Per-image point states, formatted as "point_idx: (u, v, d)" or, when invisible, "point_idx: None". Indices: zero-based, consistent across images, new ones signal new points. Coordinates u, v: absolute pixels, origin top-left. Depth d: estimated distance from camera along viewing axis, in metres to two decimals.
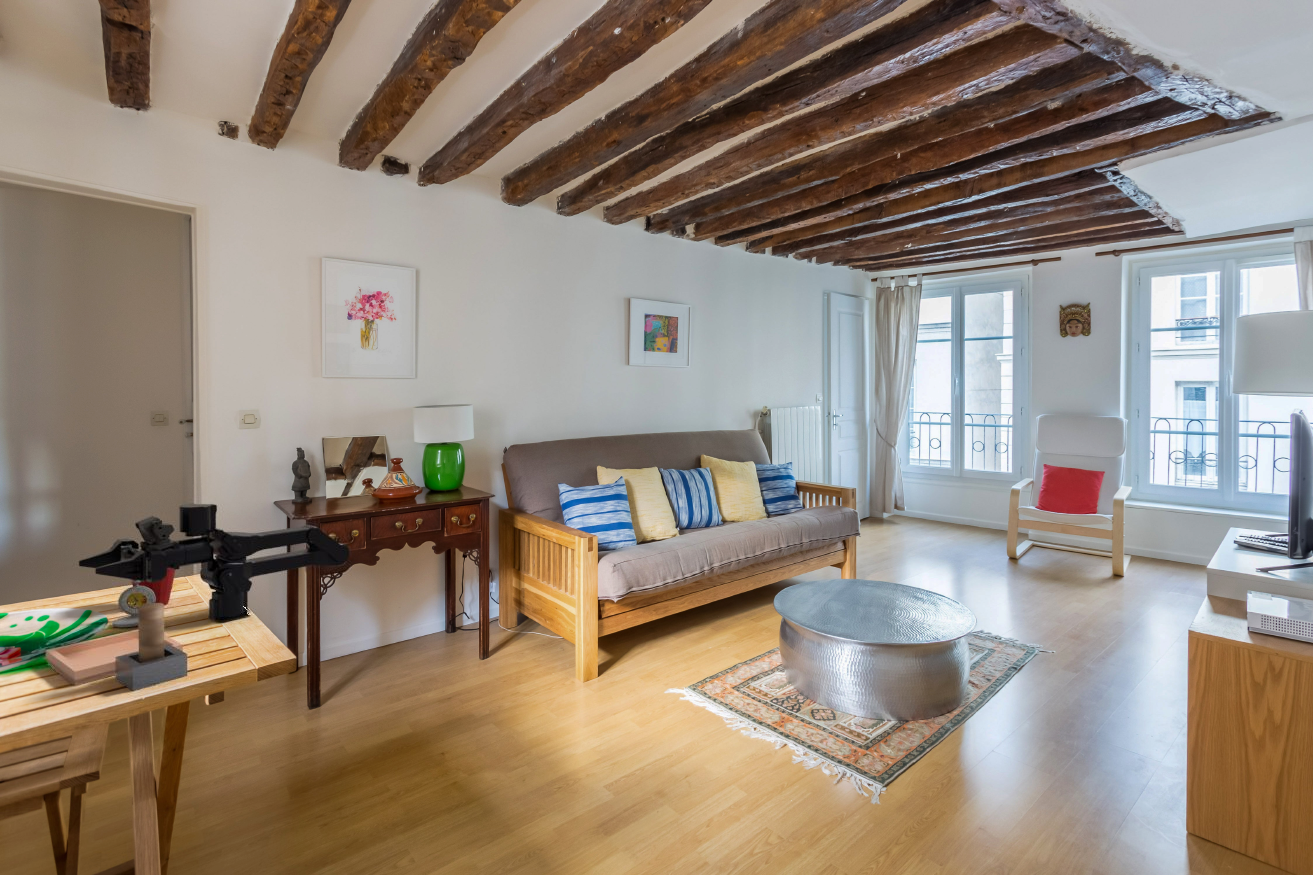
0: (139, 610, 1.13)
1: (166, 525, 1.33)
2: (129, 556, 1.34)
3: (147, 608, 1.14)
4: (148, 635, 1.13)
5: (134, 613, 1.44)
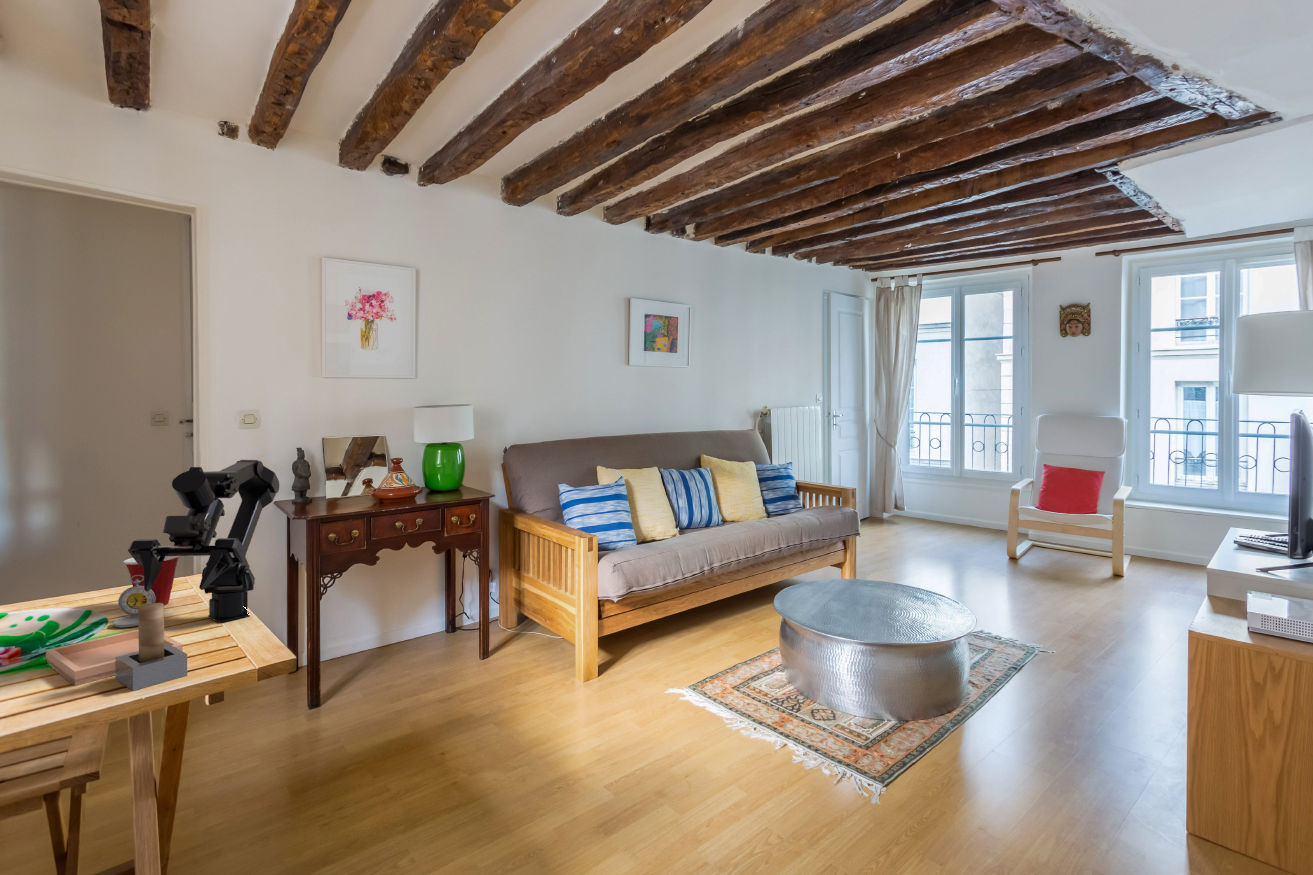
0: (139, 610, 1.13)
1: (206, 517, 1.26)
2: (168, 554, 1.27)
3: (147, 608, 1.14)
4: (148, 635, 1.13)
5: (134, 613, 1.44)
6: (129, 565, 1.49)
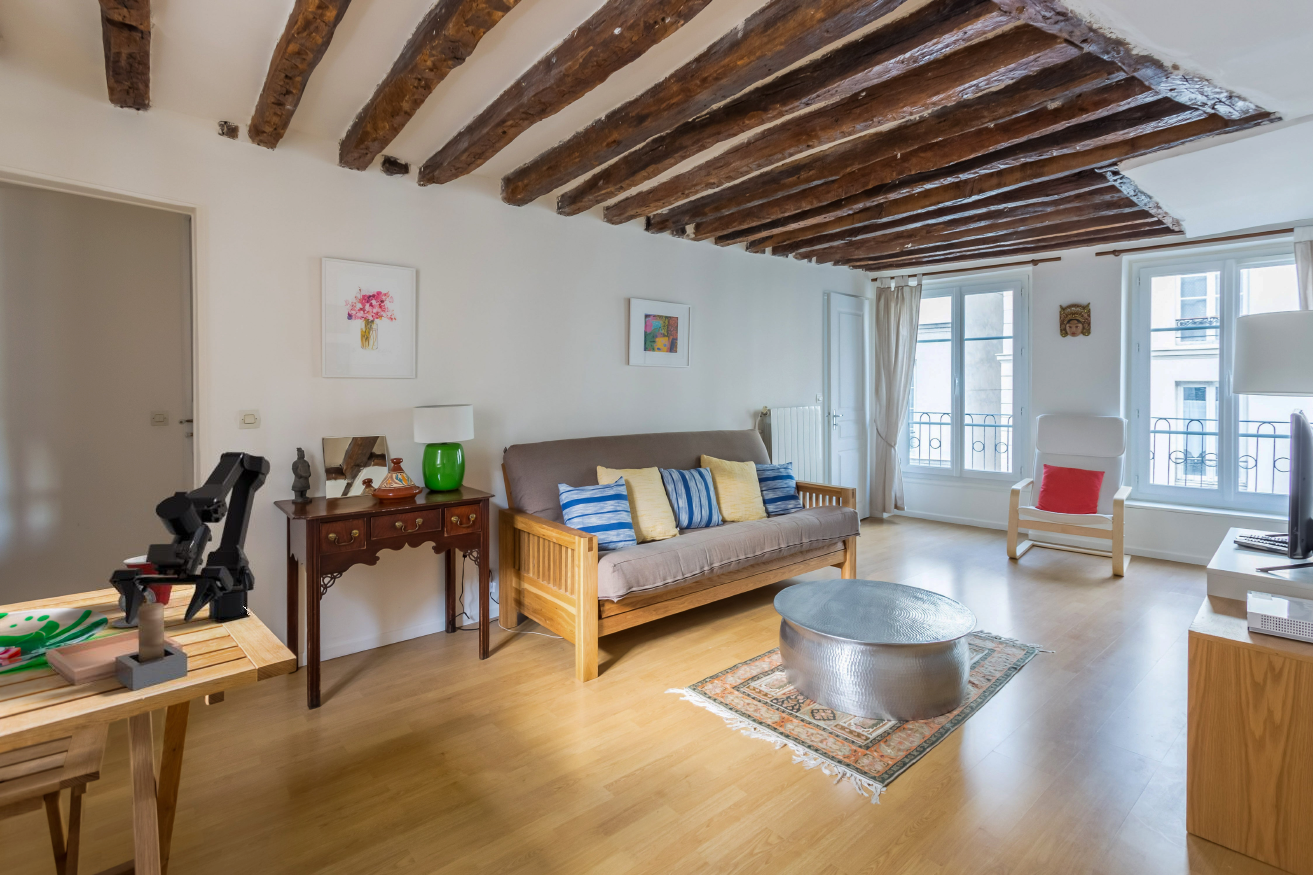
0: (139, 610, 1.13)
1: (191, 545, 1.20)
2: (151, 583, 1.21)
3: (147, 608, 1.14)
4: (148, 635, 1.13)
5: None
6: (129, 565, 1.49)
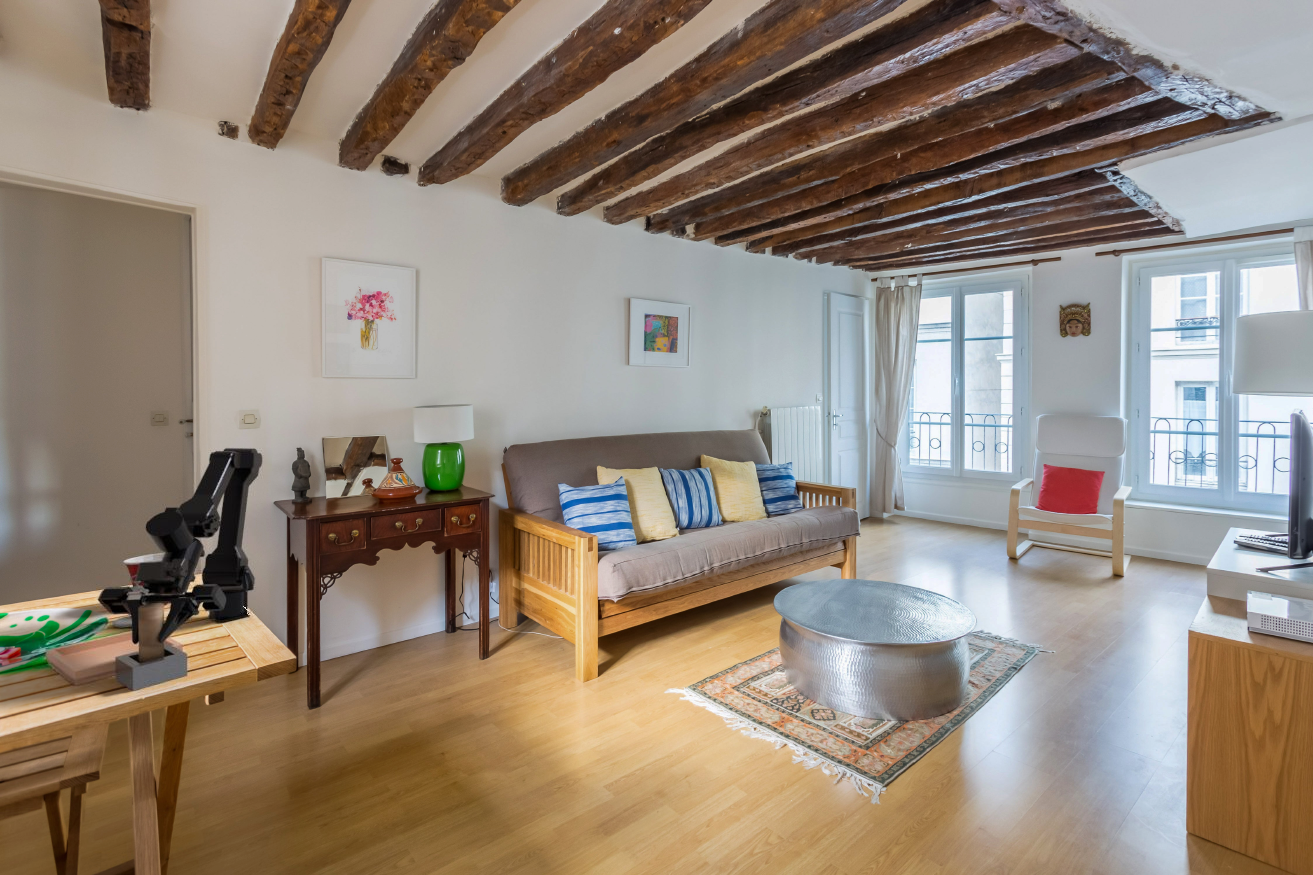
0: (139, 610, 1.13)
1: (182, 563, 1.17)
2: None
3: (147, 608, 1.14)
4: (148, 635, 1.13)
5: None
6: (129, 565, 1.49)
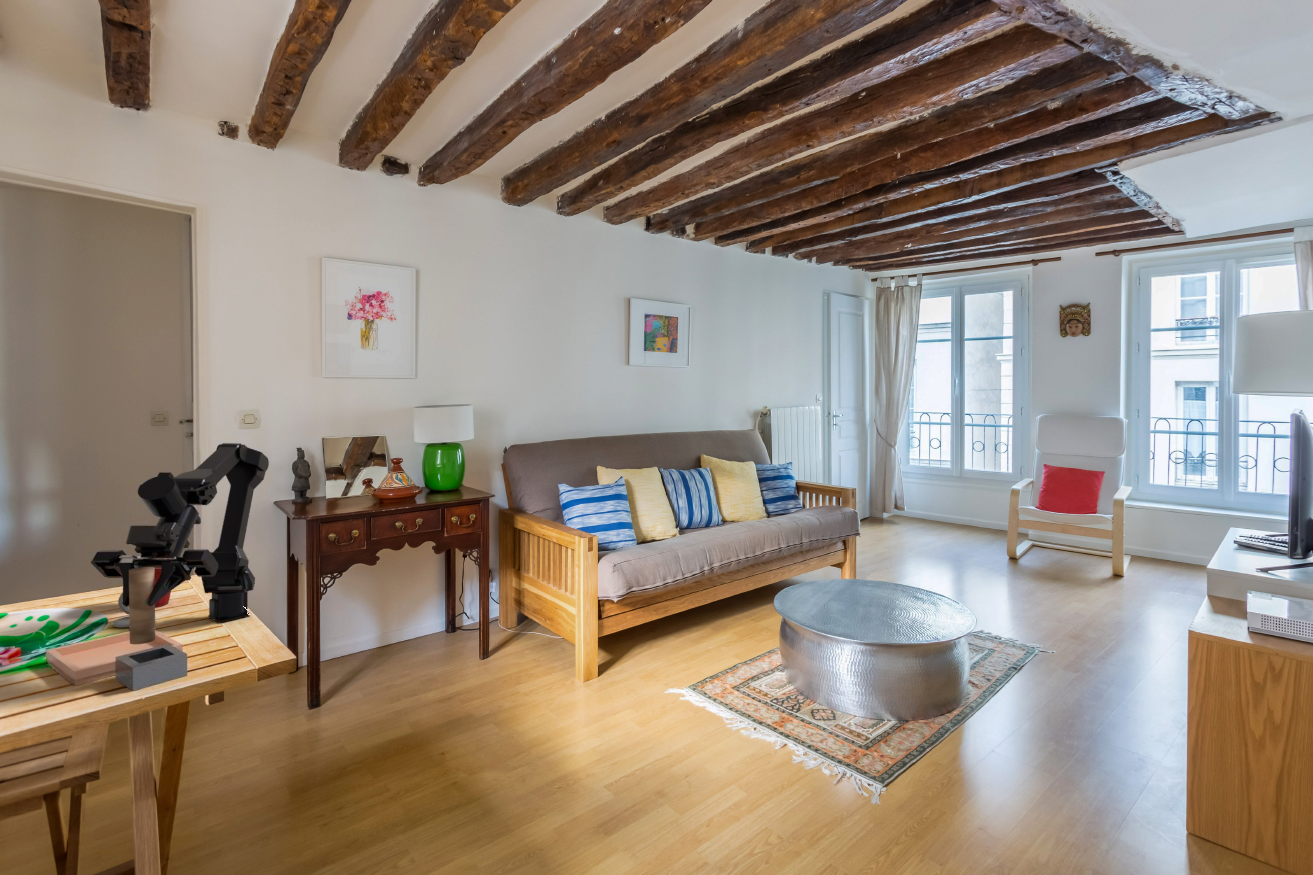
0: (129, 573, 1.13)
1: (173, 527, 1.17)
2: None
3: (137, 571, 1.13)
4: (138, 598, 1.13)
5: None
6: None
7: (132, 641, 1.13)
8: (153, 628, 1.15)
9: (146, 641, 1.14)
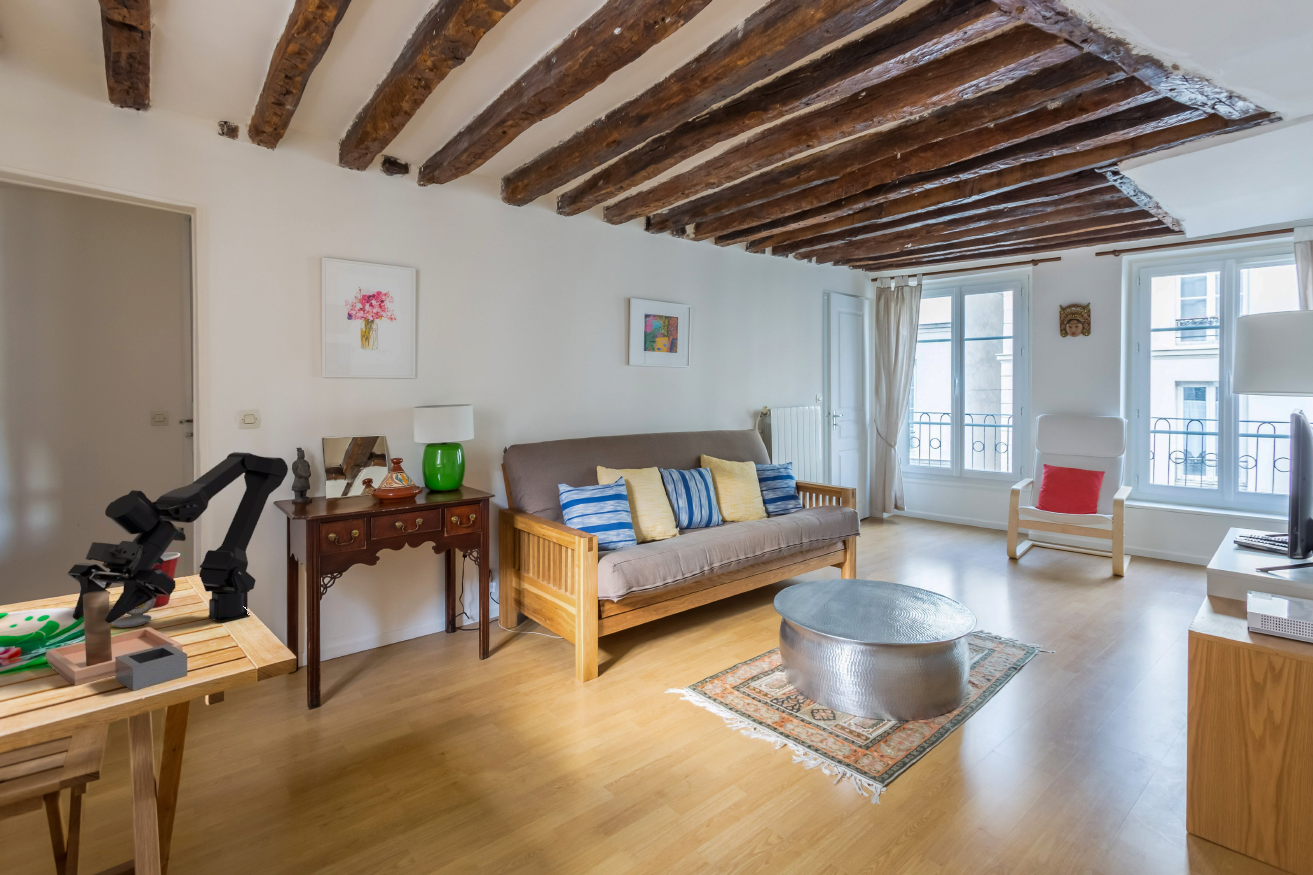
0: None
1: (127, 545, 1.18)
2: (104, 580, 1.22)
3: (89, 595, 1.16)
4: (89, 622, 1.16)
5: (134, 613, 1.44)
6: None
7: (86, 662, 1.17)
8: (106, 651, 1.18)
9: None
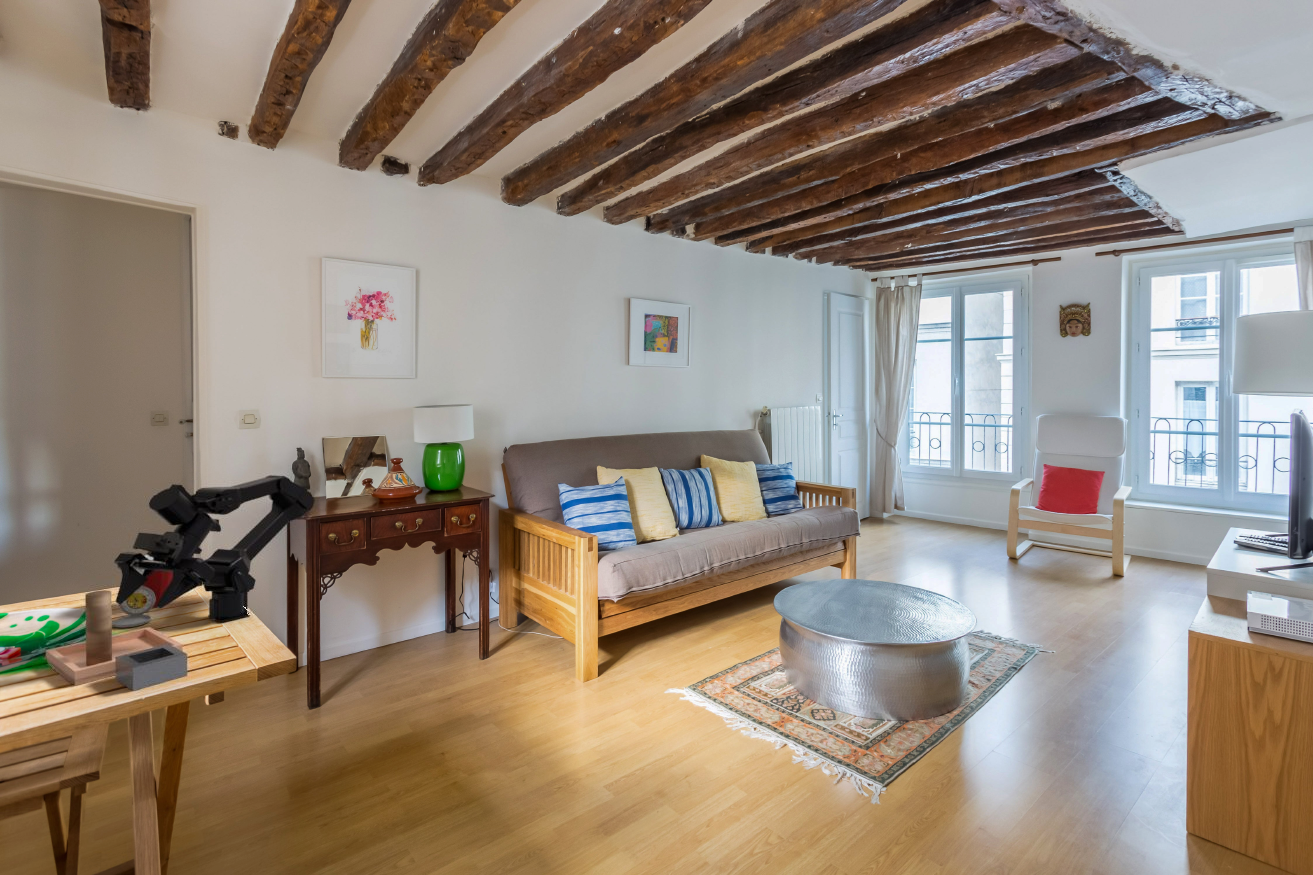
0: (85, 596, 1.17)
1: (171, 536, 1.27)
2: (148, 568, 1.31)
3: (92, 594, 1.17)
4: (90, 621, 1.16)
5: (134, 613, 1.44)
6: None
7: (86, 663, 1.17)
8: (107, 651, 1.18)
9: None
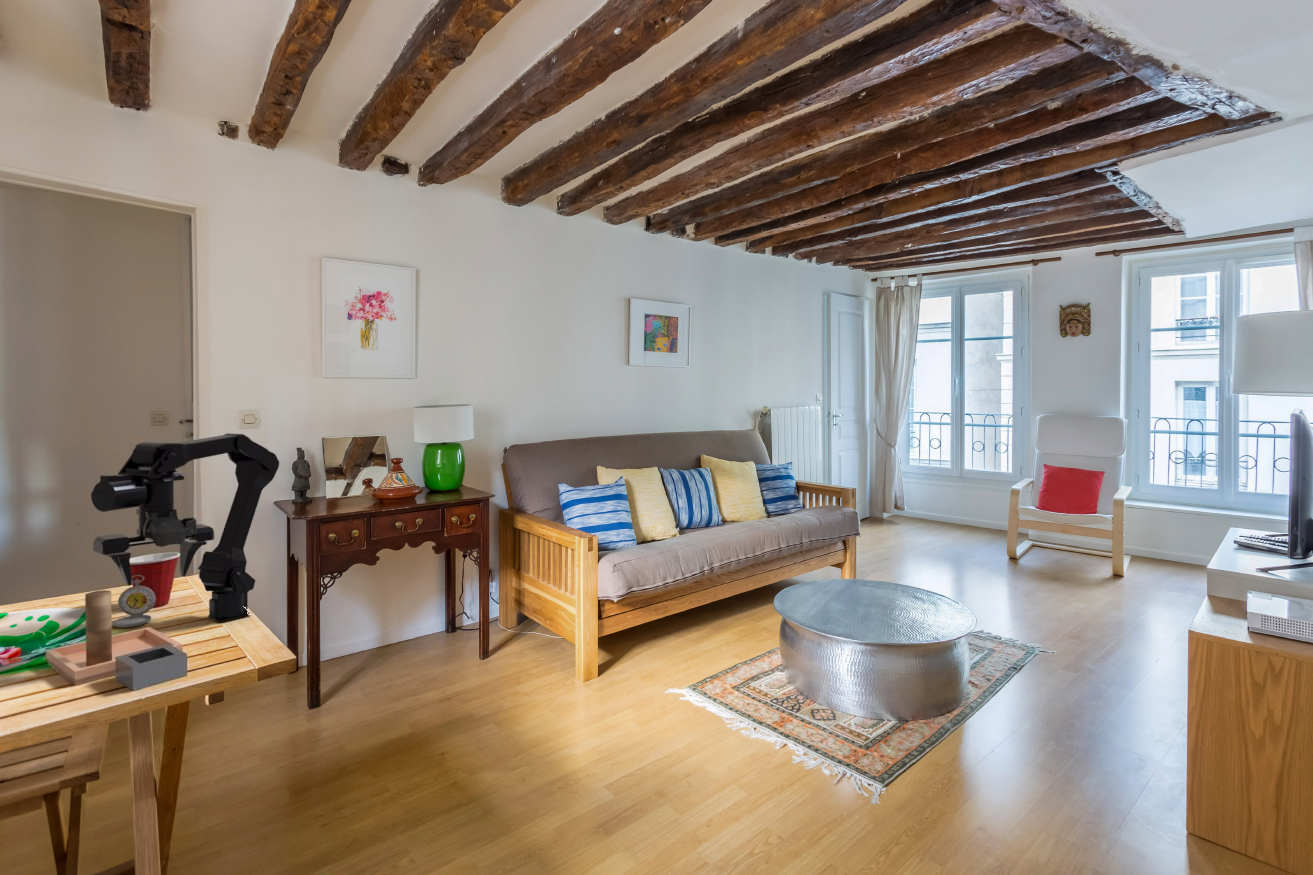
0: (85, 596, 1.17)
1: (196, 525, 1.29)
2: (136, 545, 1.27)
3: (92, 594, 1.17)
4: (90, 621, 1.16)
5: (134, 613, 1.44)
6: None
7: (86, 663, 1.17)
8: (107, 651, 1.18)
9: None
